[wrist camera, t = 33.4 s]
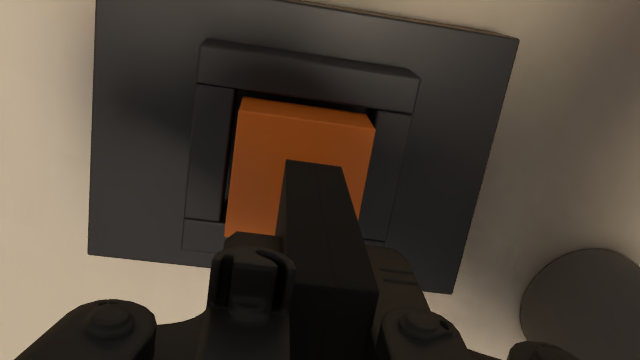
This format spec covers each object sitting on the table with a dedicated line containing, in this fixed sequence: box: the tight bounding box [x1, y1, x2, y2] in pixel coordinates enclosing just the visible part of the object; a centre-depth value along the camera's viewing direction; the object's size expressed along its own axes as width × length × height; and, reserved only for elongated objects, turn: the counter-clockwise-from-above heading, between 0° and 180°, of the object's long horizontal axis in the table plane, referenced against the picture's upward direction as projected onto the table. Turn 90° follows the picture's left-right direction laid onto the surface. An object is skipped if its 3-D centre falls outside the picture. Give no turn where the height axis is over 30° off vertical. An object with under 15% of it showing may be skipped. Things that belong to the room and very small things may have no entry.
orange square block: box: [224, 96, 376, 237], centre depth 18 cm, size 4×4×2 cm
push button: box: [88, 0, 519, 294], centre depth 21 cm, size 14×10×4 cm
